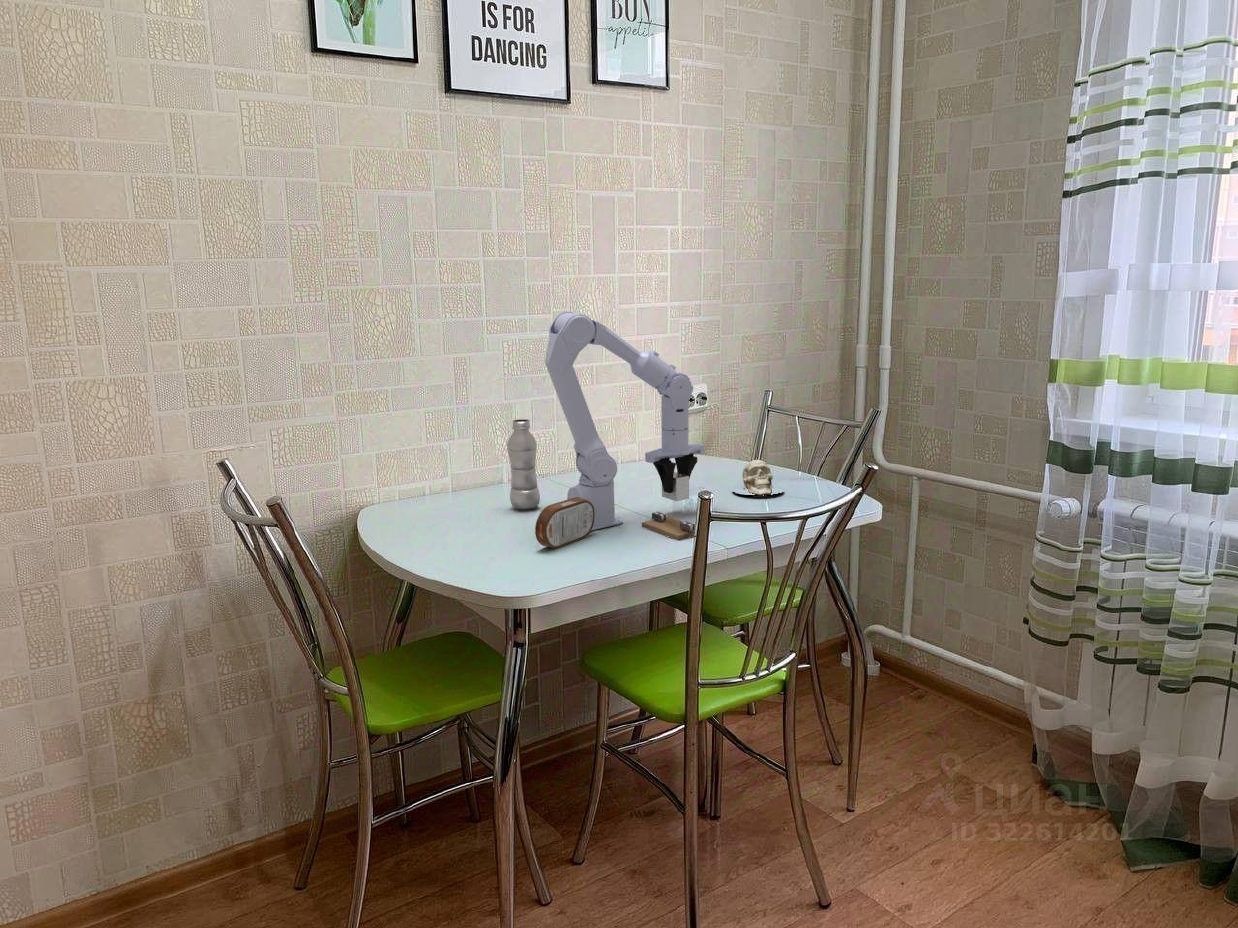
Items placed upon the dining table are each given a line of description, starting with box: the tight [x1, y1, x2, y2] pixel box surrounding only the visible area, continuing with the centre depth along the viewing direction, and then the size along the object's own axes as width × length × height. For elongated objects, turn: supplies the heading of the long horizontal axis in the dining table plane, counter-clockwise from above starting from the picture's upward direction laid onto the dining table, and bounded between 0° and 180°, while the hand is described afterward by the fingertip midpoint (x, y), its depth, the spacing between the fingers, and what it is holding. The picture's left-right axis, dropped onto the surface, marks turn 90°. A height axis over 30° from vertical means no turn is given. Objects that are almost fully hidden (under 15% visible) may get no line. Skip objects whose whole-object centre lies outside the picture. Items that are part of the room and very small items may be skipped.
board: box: [641, 515, 697, 541], centre depth 187 cm, size 7×12×1 cm, turn 35°
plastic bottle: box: [506, 418, 541, 511], centre depth 203 cm, size 6×7×20 cm
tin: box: [534, 497, 595, 549], centre depth 180 cm, size 15×3×8 cm, turn 141°
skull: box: [742, 459, 774, 497], centre depth 214 cm, size 12×12×8 cm
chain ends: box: [651, 511, 696, 532], centre depth 187 cm, size 2×12×2 cm, turn 35°
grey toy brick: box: [661, 471, 690, 502], centre depth 197 cm, size 4×5×6 cm
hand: (675, 490), depth 197 cm, fingers closed on grey toy brick, 3 cm apart
